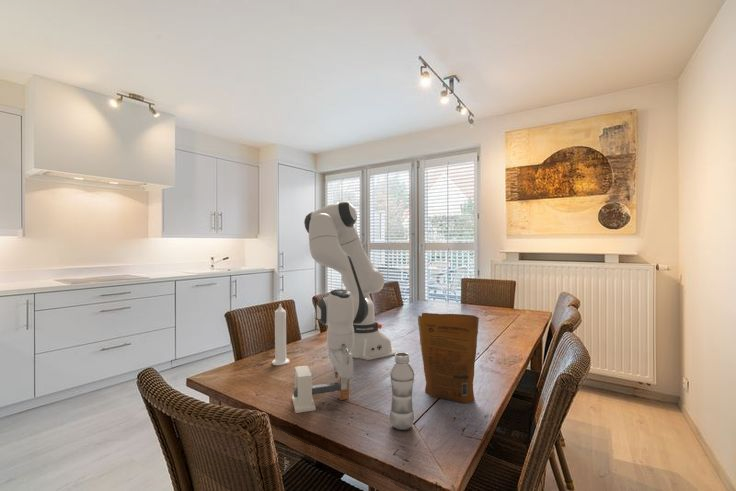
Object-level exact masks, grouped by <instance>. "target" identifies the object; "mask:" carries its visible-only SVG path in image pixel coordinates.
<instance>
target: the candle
mask: <svg viewBox="0 0 736 491" xmlns="http://www.w3.org/2000/svg"><path fill="white" fill-rule="evenodd" d="M274 353H275V354H274V355H275V356H274V357H275V358H274V359H273V360H272V361H271V363H272V365H273V366H284V365H285V366H286V365H288V364H289V363H290V359H289V358H288V357H287V312H286V310H285V309H284V308H283V307H282V303H279V305H278V308H277V309H276V310H275V311H274Z"/></svg>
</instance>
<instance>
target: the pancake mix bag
mask: <svg viewBox="0 0 736 491" xmlns="http://www.w3.org/2000/svg"><path fill="white" fill-rule="evenodd" d="M479 322H480V317H478V316H476V315H474V314H473V315H472V314H465V313H464V314H461V313H433V312H421V315H418V318H417V326H418V331H419V345H420V350H421V357H422V365H423V372H424V378H425V379H424V380H425V383H426V384H425V387H424V388H425V389H424V392H425V393H426V394H427V395H428V396H430V397H432V398H436V399H440V400H447V401H452V402H456V403H461V404H469V403H474V402H476V400H475V399H476V398H475V394H474V378H475V364H476V363H475V362H476V357H477V348H478V336H479V335H478V334H479Z"/></svg>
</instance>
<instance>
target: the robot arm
mask: <svg viewBox="0 0 736 491" xmlns="http://www.w3.org/2000/svg"><path fill="white" fill-rule="evenodd" d="M357 219H358V217H357V211H356V208H355V206H354V205H353V203H352V202H350V201H348V200H344V201H339V202H336V203H332V204H328V205H326V206H323V207H321V208H319V209H317V210H314V211H311V212H309V213H308V214H306V216H305V217H304V222H303V223H304V228H305V230H306V232H307V233H308V243H309V244H308V246H309V251H310V255H311V258H312V259H313V261H315V262H316V263H318V264H319V265H321V266H323V267H326V268H329V269H333V270H334V271H336V272H338V273H339V274H340V275H341V282H342V283H343V286H344V287H345V289H343V288H342V289H341V288H340V289H339V288H338V289H333V290H331V291H329V293H328V296H325V297H321V298H320V299H319V300H318V301H317V303H316V304H315V318H316V320H317V321H318V322H319V323H320V324H321V325H325V326H327V329H326V347H327V348H328V356H329V358H328V359H329V360H330V362H331V364H332V366H333V376H334V378H335V379H338V374H339V376H340V377H341V382H340V387H341V389H342V390H344V389H347V382H348V379H349V380H351V379H353V378H354V358H356V359H363V360H366V361H370V360H375V359H380V358H385V357H390V356H391V357H392V356H395V354H396V353H397V350H396V348H395V347H393V346H392V341H391V339H390V338H389V337H388V336H387V335H386V334H385V333H383V332H382V331H380V330H379V329H382V328H383V324H381V323H380V322H376V321H375V320H376V319H375V318H376V317H375V304H374V302H373V299H372V298H371V295H370V294H377V293H379V292H380V291H381V290H383V288H384V285H385V277H384V275H383V273H382V272H380V271H379V270H378V269H377V268H376V266H375V265H374V264H373V262H372V261H371V260H370V258H369V256H368V255H367V253H366V251H365V249H364V246H363V245H362V241H361V238H360V236H359V234H358V232H357V229H356V227H355V224H356V223H357Z"/></svg>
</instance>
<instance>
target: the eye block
mask: <svg viewBox="0 0 736 491" xmlns="http://www.w3.org/2000/svg"><path fill="white" fill-rule="evenodd" d="M294 370H295V371H294V373H295V374H294V376H295V378H294V380H295V382H294V383H295V384H294V386H295V387H294V388H298V397H294V395H291V400H292V404H293V407H294V413H295V414H299V413H306V412H311V411H316V410H317V408H316V407H317V406H316V404H315V401H314V398H313V395H312V386H313V377H312V376H313V375H312V373H311V369H310V367H309V365H308V364H307V365H301V366H300V365H298V366H295V367H294Z"/></svg>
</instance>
